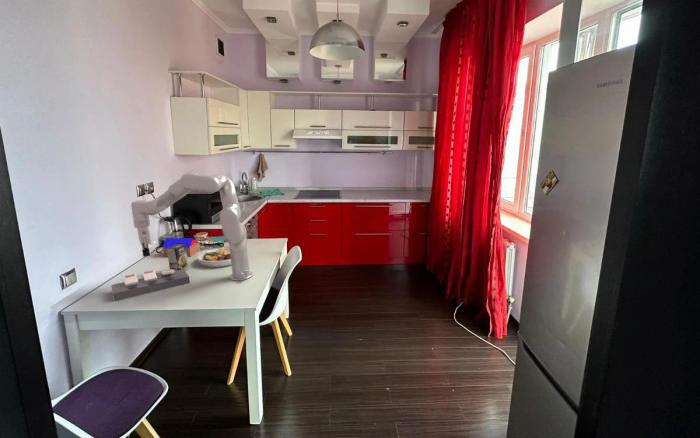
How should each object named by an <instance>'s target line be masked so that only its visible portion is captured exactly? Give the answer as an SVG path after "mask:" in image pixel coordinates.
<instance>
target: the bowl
mask: <svg viewBox="0 0 700 438" xmlns="http://www.w3.org/2000/svg"><path fill="white" fill-rule="evenodd" d="M214 248H215V249H211V248H210V249H207V250H204V251H203V252H201V253H200V254H198V255H197V261H198V263H199V264H200V265H202V266H203V267H208V268H223V267H228V266H230V267H231V257H230V247H229V246H222V247H221V246H220V247H214Z"/></svg>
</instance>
